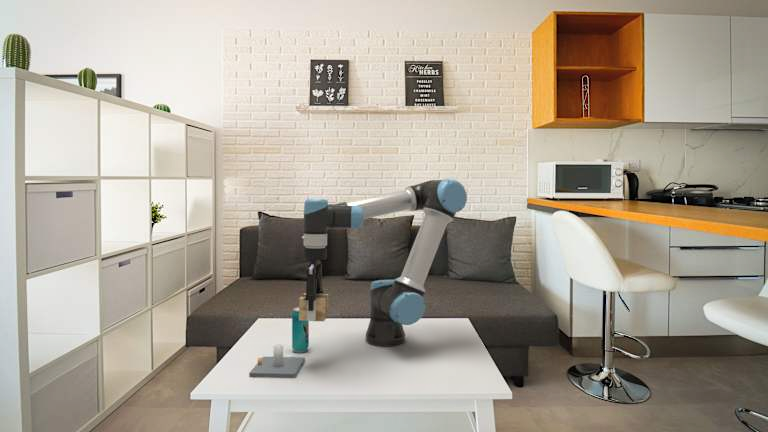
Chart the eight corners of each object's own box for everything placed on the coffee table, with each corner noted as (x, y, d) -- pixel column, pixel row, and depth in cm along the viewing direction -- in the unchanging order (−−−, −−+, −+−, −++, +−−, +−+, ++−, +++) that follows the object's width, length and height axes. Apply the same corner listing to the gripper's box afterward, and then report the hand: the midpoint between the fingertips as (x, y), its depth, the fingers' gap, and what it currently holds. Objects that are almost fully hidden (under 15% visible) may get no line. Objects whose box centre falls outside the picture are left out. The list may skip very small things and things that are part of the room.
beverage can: (305, 354, 157) (305, 311, 156) (289, 352, 158) (289, 310, 157) (311, 348, 162) (311, 307, 162) (296, 347, 164) (295, 306, 163)
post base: (305, 360, 150) (304, 339, 150) (295, 377, 136) (295, 354, 136) (263, 360, 151) (263, 338, 151) (249, 376, 137) (249, 353, 137)
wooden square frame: (328, 315, 150) (328, 293, 150) (324, 321, 142) (324, 298, 142) (304, 314, 150) (304, 292, 150) (298, 320, 142) (299, 297, 142)
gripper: (309, 243, 156) (308, 308, 157) (296, 250, 135) (294, 325, 136) (331, 243, 156) (330, 309, 156) (321, 250, 135) (319, 326, 136)
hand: (313, 316), depth 146 cm, fingers closed on wooden square frame, 8 cm apart
